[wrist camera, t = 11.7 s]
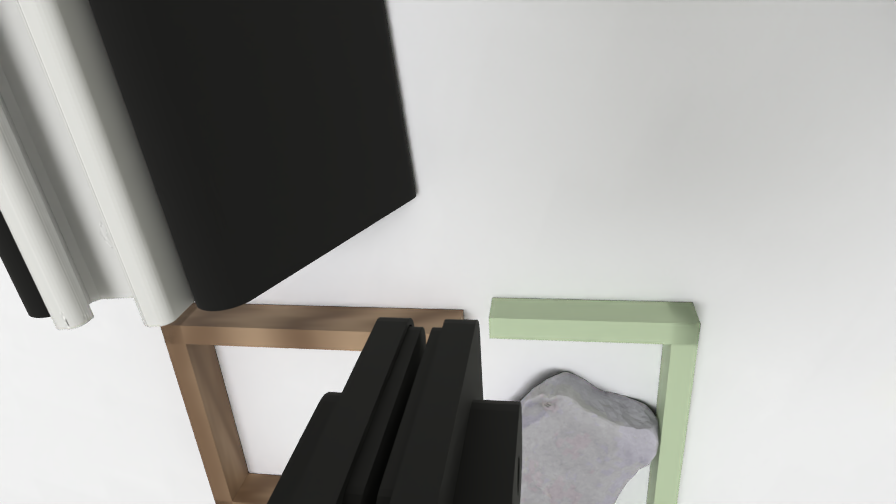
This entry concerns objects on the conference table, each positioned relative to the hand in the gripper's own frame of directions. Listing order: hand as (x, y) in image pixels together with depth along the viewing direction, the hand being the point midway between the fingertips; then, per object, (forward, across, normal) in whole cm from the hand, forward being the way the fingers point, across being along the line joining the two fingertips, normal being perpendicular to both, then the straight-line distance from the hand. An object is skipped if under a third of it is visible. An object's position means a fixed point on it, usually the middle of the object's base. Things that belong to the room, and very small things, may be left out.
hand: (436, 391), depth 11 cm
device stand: (+28, +18, -4) cm, 33 cm away
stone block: (+28, -2, +26) cm, 38 cm away
